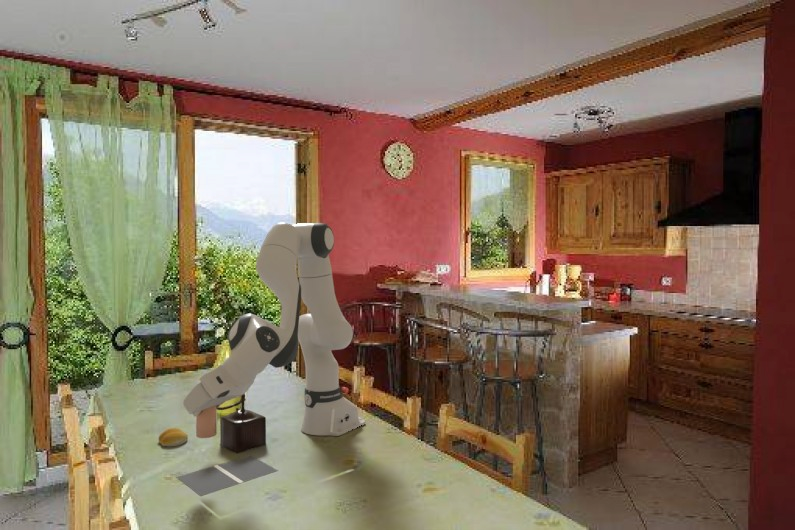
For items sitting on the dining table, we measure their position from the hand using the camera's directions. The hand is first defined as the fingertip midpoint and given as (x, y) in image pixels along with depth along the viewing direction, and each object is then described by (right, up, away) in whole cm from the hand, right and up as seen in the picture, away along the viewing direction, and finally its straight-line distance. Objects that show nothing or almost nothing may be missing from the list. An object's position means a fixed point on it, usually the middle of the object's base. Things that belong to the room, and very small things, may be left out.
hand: (204, 410), depth 143 cm
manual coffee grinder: (+1, -18, +25) cm, 31 cm away
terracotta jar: (+1, -6, 0) cm, 6 cm away
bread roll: (-21, -18, +30) cm, 41 cm away
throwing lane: (+5, -19, +5) cm, 20 cm away
